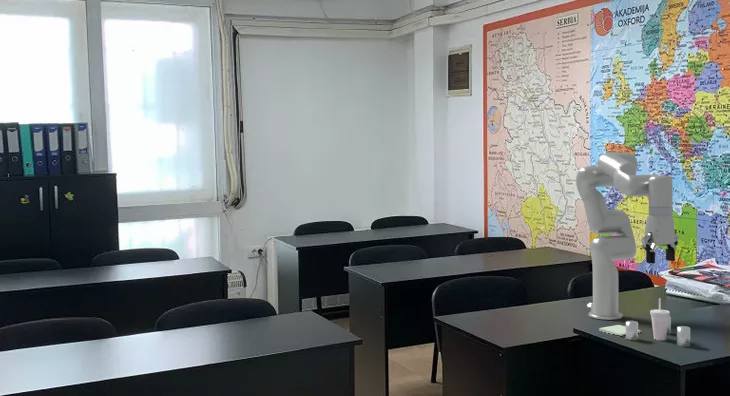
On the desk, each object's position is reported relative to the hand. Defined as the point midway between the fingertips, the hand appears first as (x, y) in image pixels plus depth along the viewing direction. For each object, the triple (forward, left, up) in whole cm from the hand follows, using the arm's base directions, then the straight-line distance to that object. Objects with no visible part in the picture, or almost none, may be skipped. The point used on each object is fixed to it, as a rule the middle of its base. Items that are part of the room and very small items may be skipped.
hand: (660, 261), depth 243 cm
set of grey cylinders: (+2, 0, -27) cm, 27 cm away
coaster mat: (-14, -4, -27) cm, 31 cm away
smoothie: (0, 0, -27) cm, 27 cm away
